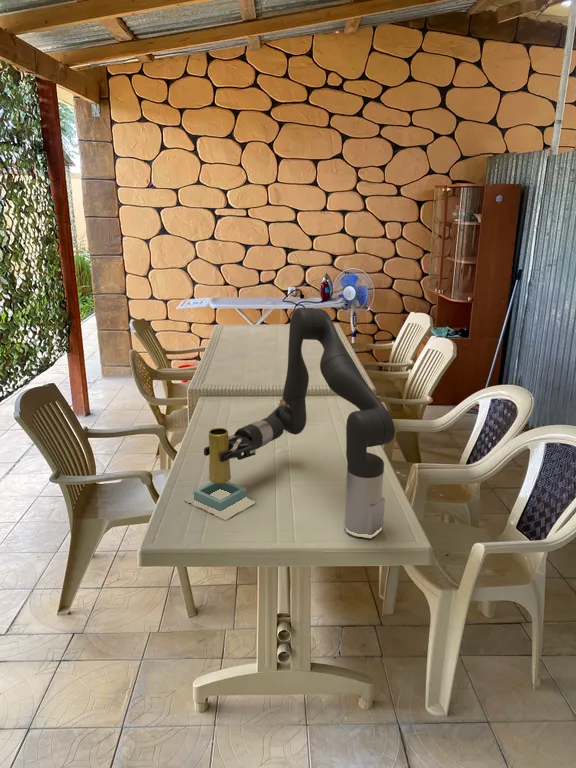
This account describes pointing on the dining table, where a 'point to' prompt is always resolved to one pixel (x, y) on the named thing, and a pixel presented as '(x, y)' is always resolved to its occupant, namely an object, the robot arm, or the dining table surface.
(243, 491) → the dock
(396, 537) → the dining table surface
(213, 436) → the vase
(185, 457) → the dining table surface
